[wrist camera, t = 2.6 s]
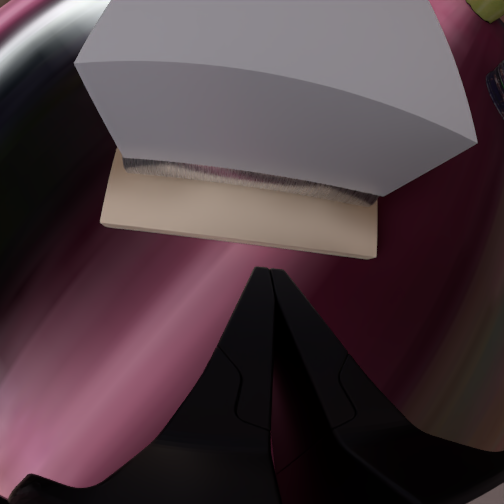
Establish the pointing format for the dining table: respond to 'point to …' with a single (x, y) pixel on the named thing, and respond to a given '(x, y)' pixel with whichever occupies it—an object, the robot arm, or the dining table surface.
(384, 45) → the slab
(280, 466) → the robot arm
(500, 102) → the storage jar
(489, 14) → the plant pot
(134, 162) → the rollers
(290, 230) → the track board
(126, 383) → the dining table surface
